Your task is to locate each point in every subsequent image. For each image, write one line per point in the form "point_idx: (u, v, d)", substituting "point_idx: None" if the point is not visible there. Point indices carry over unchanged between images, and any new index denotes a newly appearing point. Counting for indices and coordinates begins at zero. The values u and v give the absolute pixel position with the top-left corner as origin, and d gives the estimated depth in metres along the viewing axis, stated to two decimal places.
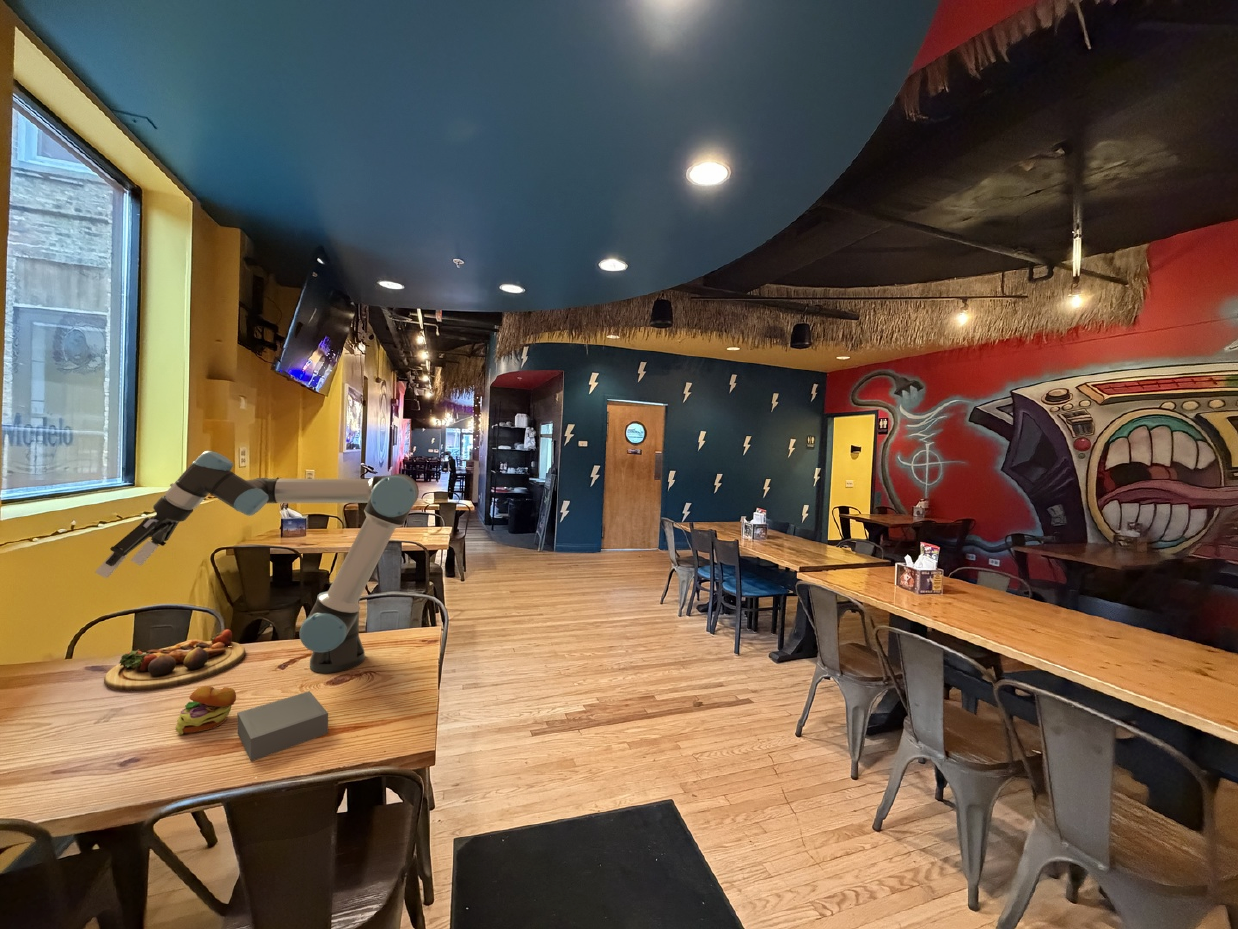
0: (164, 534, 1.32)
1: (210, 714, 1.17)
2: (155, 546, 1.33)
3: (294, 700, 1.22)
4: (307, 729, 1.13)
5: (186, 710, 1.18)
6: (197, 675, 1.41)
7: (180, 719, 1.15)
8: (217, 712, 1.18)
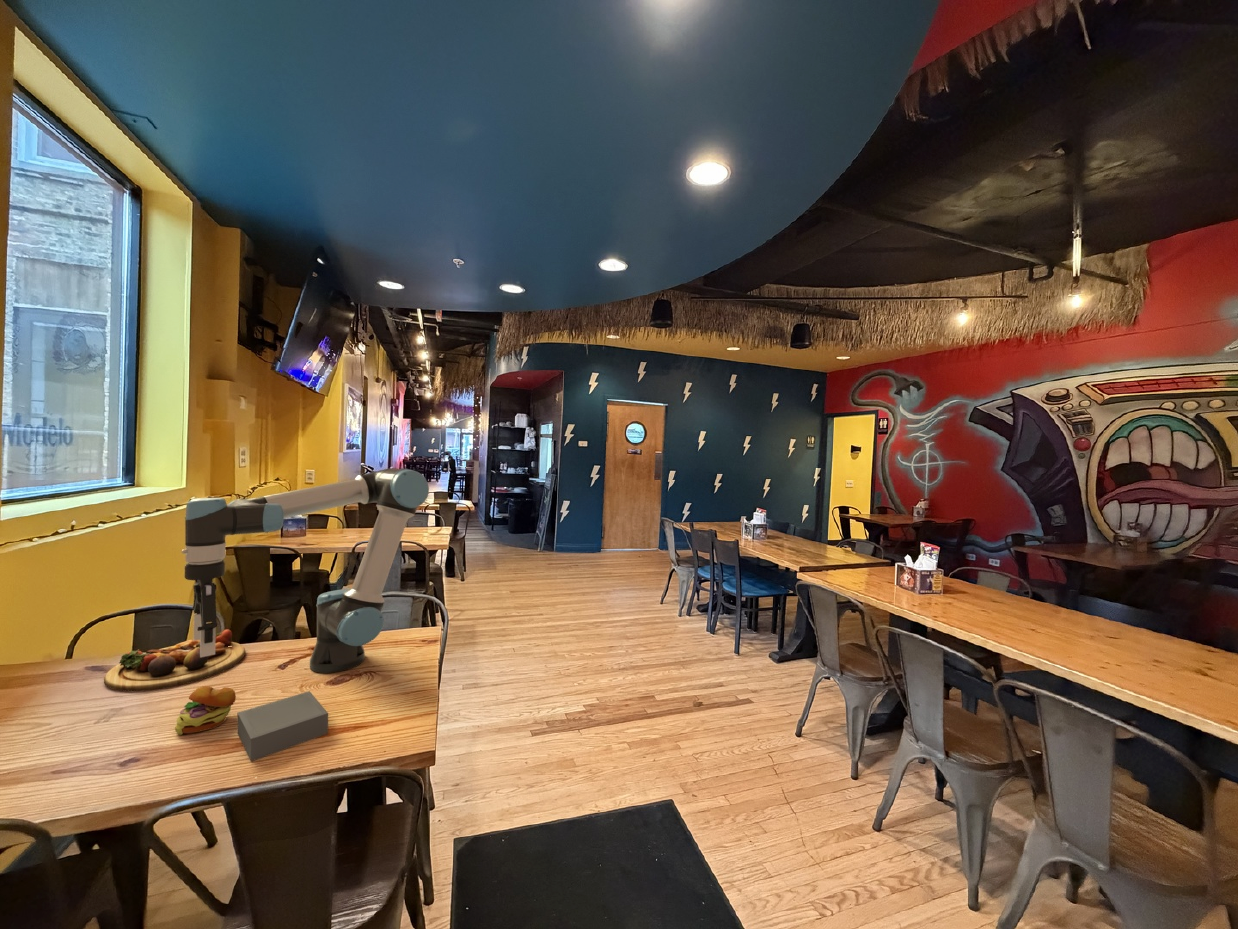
0: None
1: (209, 714, 1.16)
2: None
3: (294, 700, 1.22)
4: (307, 729, 1.13)
5: (186, 710, 1.18)
6: (197, 675, 1.41)
7: (179, 719, 1.15)
8: (216, 712, 1.18)
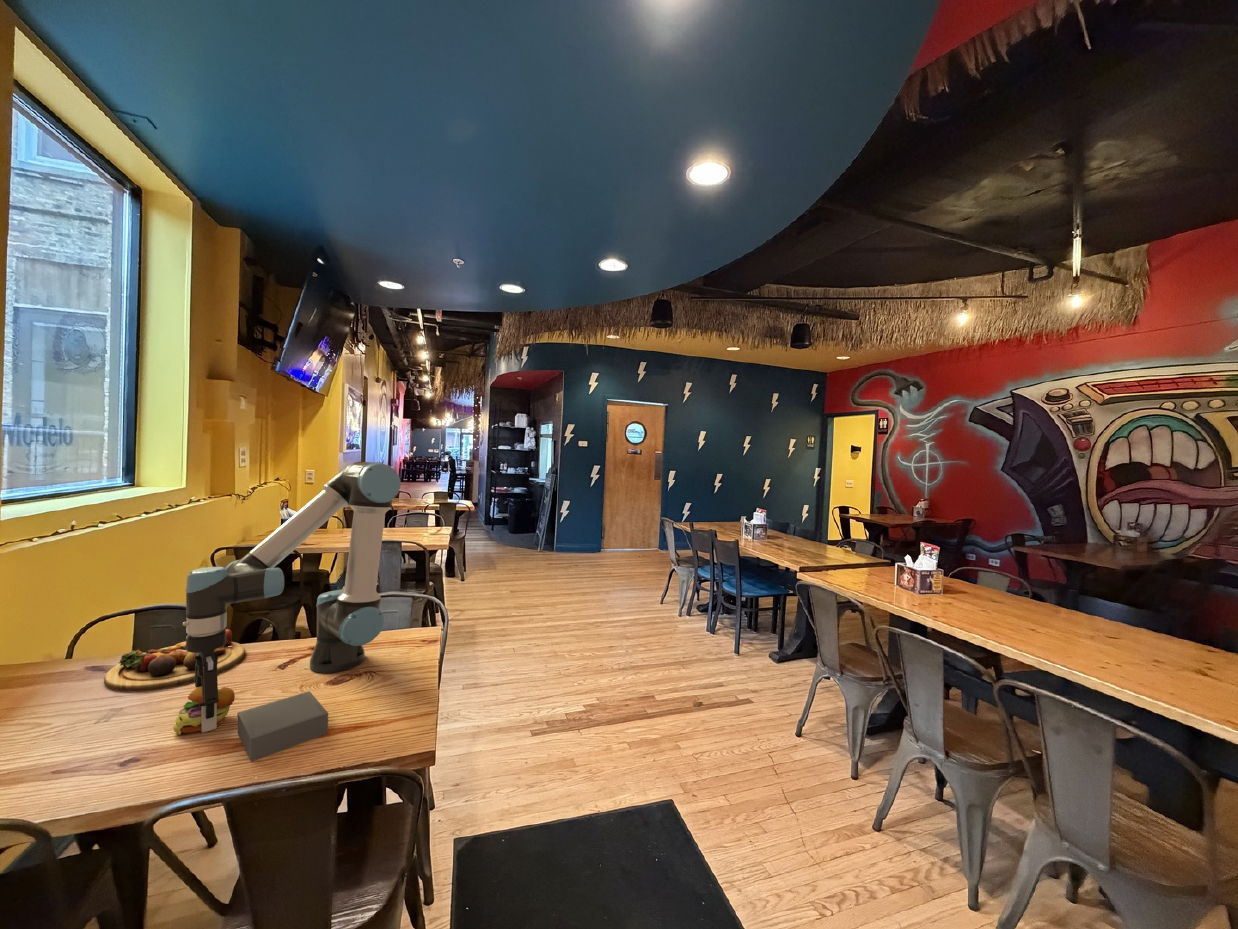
0: None
1: None
2: None
3: (294, 700, 1.22)
4: (307, 729, 1.13)
5: (185, 709, 1.18)
6: None
7: (178, 719, 1.15)
8: None
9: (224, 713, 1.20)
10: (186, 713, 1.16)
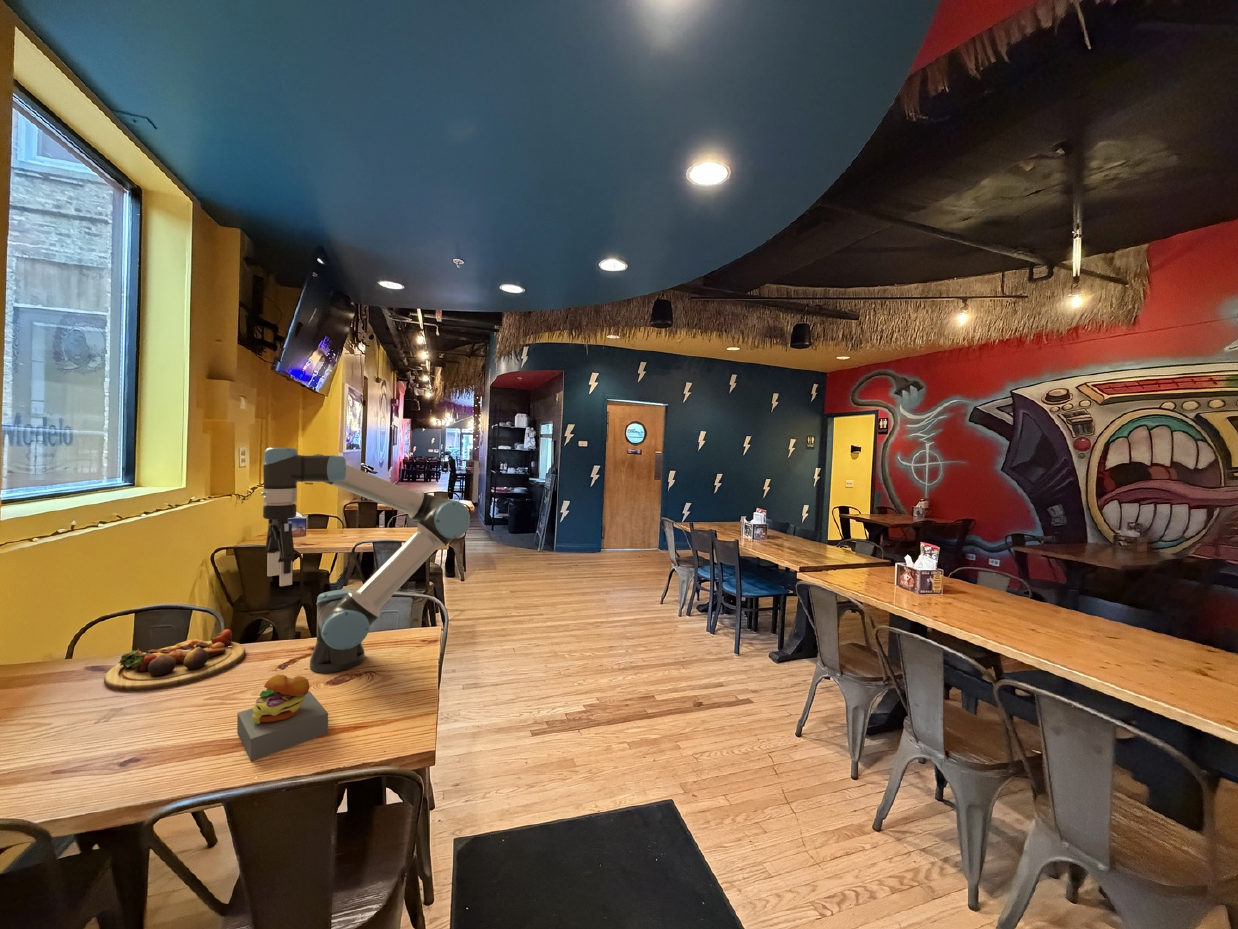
0: None
1: (286, 703, 1.13)
2: (278, 553, 1.39)
3: None
4: (307, 729, 1.13)
5: (261, 699, 1.14)
6: (197, 675, 1.41)
7: (256, 708, 1.12)
8: (293, 701, 1.14)
9: (300, 702, 1.16)
10: (264, 702, 1.12)
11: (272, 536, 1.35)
